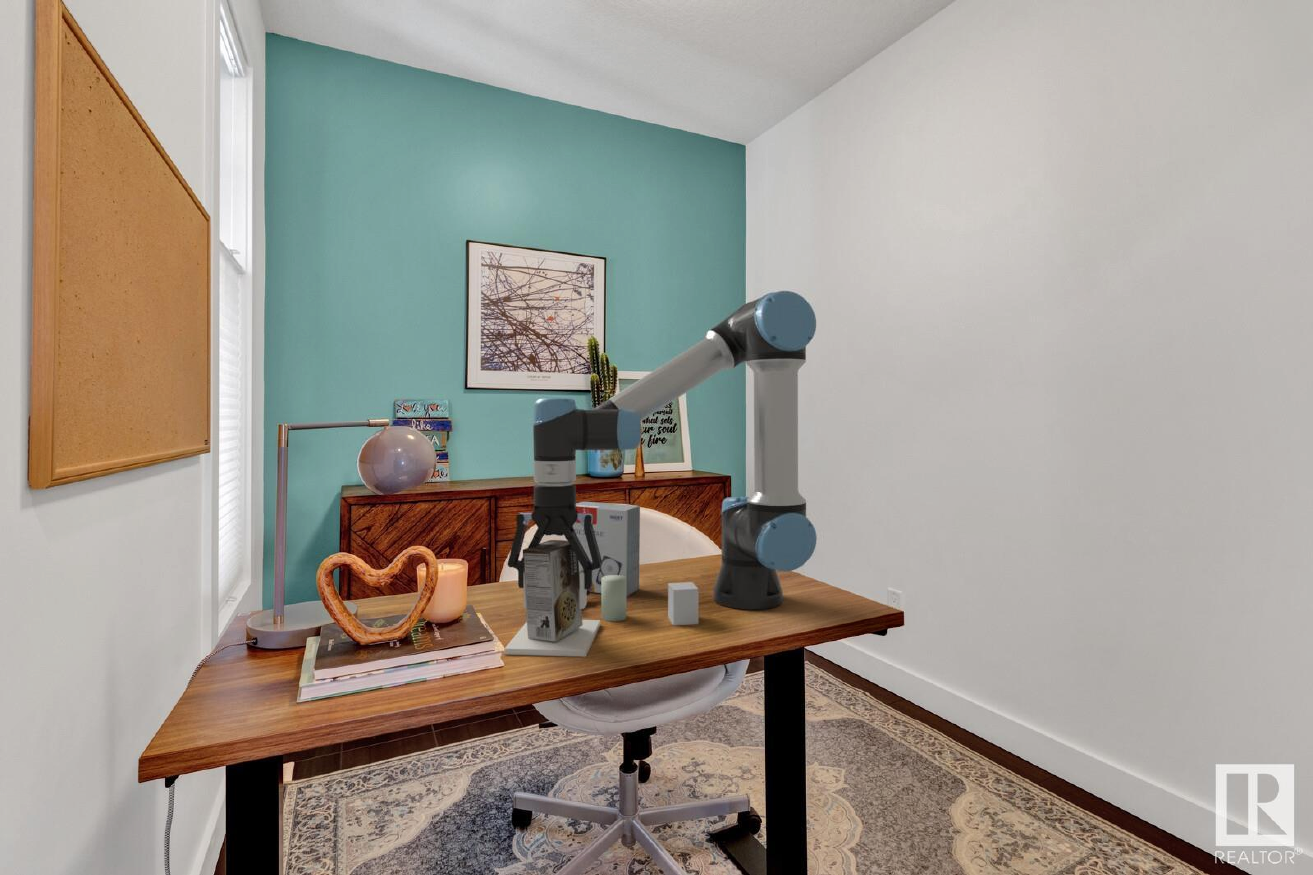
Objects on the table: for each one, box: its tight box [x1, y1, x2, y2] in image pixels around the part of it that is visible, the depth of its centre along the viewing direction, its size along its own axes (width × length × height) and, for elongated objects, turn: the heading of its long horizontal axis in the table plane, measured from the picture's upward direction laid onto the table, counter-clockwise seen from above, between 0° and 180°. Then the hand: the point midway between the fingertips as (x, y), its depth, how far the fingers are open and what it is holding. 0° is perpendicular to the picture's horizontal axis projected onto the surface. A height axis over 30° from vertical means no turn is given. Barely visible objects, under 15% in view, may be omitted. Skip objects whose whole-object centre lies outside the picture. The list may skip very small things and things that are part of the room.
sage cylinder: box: [600, 575, 627, 622], centre depth 127 cm, size 5×5×8 cm
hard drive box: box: [573, 501, 641, 598], centre depth 147 cm, size 16×8×20 cm, turn 67°
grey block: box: [667, 581, 700, 626], centre depth 126 cm, size 5×5×7 cm
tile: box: [504, 619, 601, 658], centre depth 115 cm, size 14×16×1 cm
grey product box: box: [521, 539, 583, 641], centre depth 115 cm, size 9×6×16 cm
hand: (555, 605), depth 115 cm, fingers open, 9 cm apart
